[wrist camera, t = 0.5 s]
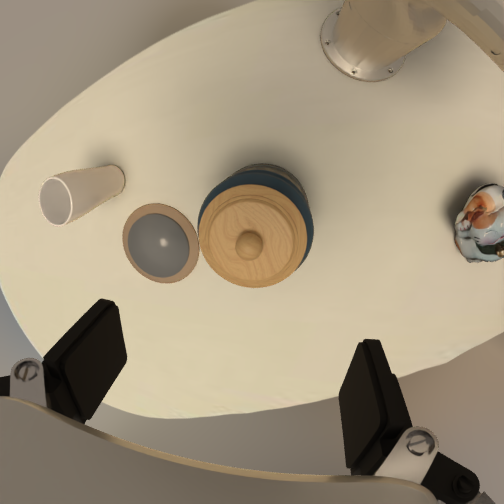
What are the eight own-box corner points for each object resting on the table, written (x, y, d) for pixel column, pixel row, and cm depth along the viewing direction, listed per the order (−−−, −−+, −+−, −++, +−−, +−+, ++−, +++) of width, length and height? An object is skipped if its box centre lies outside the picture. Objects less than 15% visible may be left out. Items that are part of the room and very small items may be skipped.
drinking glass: (92, 187, 46) (33, 211, 32) (106, 153, 43) (44, 166, 29) (120, 207, 46) (65, 237, 33) (136, 172, 44) (78, 192, 30)
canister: (214, 167, 42) (168, 190, 26) (304, 159, 40) (314, 175, 24) (226, 250, 47) (193, 312, 31) (309, 245, 45) (319, 309, 29)
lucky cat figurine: (452, 267, 43) (466, 277, 31) (440, 199, 44) (450, 185, 32) (521, 252, 36) (552, 257, 24) (509, 185, 36) (537, 169, 24)
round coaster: (131, 192, 45) (127, 194, 44) (209, 220, 46) (207, 223, 44) (119, 264, 51) (115, 267, 50) (188, 293, 51) (186, 297, 50)
